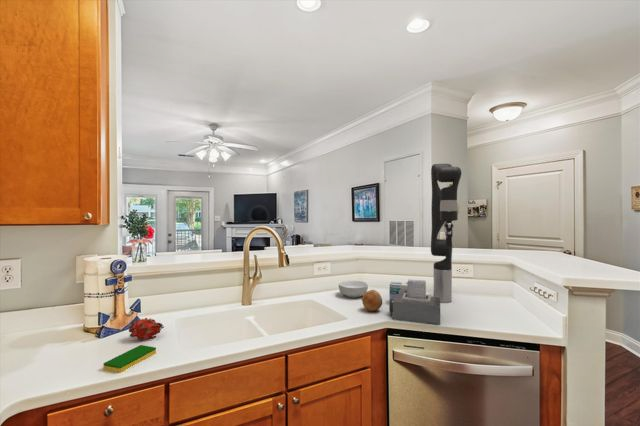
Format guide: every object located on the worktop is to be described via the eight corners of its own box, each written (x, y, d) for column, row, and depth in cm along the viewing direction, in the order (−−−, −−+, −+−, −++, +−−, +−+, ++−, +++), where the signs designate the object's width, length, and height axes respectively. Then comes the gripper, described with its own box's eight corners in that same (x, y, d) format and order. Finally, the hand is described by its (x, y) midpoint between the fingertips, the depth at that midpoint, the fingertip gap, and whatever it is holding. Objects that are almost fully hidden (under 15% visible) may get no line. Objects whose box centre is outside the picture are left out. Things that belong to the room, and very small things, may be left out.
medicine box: (426, 299, 141) (426, 280, 141) (425, 301, 137) (425, 282, 137) (408, 297, 144) (408, 279, 144) (407, 299, 140) (407, 281, 140)
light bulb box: (389, 304, 160) (389, 283, 160) (391, 300, 166) (391, 281, 166) (410, 306, 156) (410, 285, 156) (411, 303, 162) (411, 282, 162)
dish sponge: (102, 371, 95) (102, 363, 95) (140, 351, 108) (140, 344, 108) (120, 374, 93) (120, 366, 93) (156, 354, 106) (156, 347, 106)
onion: (362, 306, 156) (362, 287, 156) (382, 308, 154) (382, 288, 154) (361, 313, 146) (361, 292, 146) (382, 314, 144) (382, 293, 144)
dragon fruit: (126, 344, 116) (161, 344, 120) (124, 338, 110) (160, 338, 114) (132, 321, 121) (165, 322, 125) (130, 314, 115) (165, 315, 119)
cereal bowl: (336, 292, 183) (336, 280, 183) (363, 291, 185) (363, 279, 185) (341, 300, 167) (341, 287, 166) (371, 299, 168) (371, 286, 168)
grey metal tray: (392, 309, 152) (392, 290, 152) (439, 314, 144) (439, 294, 144) (388, 318, 139) (388, 297, 138) (440, 324, 131) (440, 302, 131)
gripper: (439, 210, 149) (439, 243, 149) (440, 210, 136) (440, 246, 136) (456, 210, 147) (456, 243, 147) (458, 210, 133) (458, 247, 133)
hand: (448, 245), depth 141 cm, fingers open, 8 cm apart
